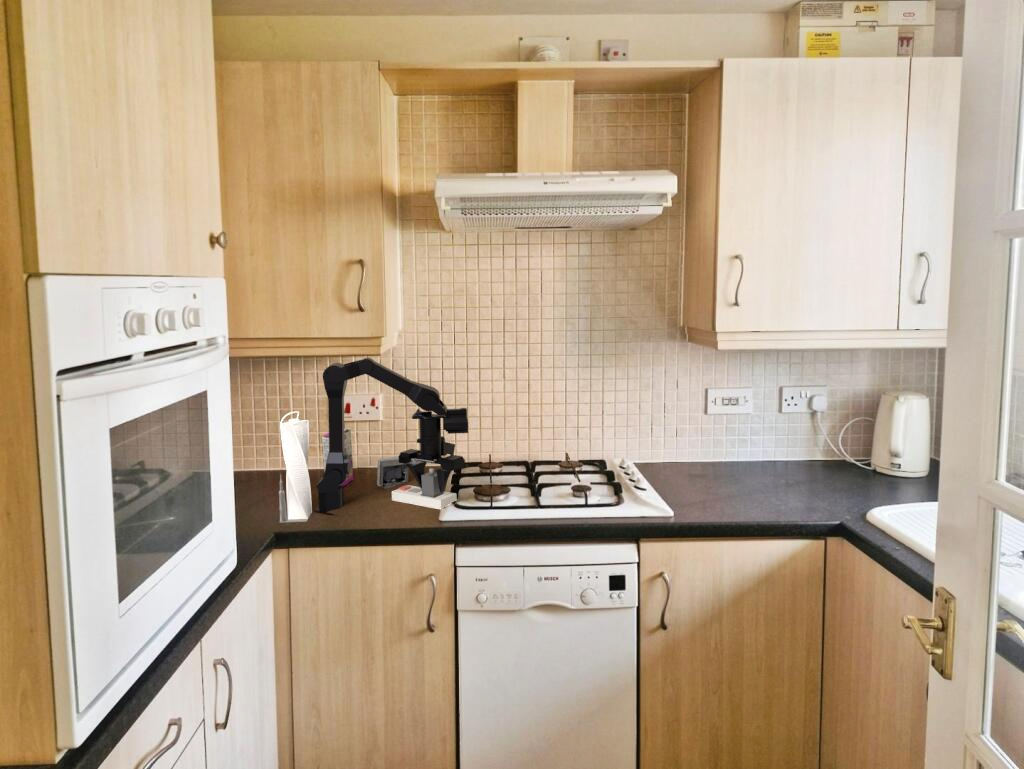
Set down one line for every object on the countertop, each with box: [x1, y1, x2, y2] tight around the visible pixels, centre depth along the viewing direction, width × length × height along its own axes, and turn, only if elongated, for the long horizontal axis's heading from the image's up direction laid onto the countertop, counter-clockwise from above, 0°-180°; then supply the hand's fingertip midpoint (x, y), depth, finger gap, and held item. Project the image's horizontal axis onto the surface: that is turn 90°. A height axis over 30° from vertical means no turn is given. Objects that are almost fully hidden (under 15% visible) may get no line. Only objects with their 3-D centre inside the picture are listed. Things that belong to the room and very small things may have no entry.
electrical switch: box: [376, 455, 409, 490], centre depth 223 cm, size 9×5×9 cm, turn 113°
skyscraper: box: [278, 410, 313, 523], centre depth 196 cm, size 8×8×28 cm
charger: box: [421, 467, 443, 498], centre depth 203 cm, size 4×4×10 cm
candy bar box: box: [321, 427, 355, 488], centre depth 225 cm, size 11×5×16 cm, turn 170°
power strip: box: [391, 484, 458, 510], centre depth 206 cm, size 7×17×4 cm, turn 58°
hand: (432, 490), depth 204 cm, fingers open, 6 cm apart
